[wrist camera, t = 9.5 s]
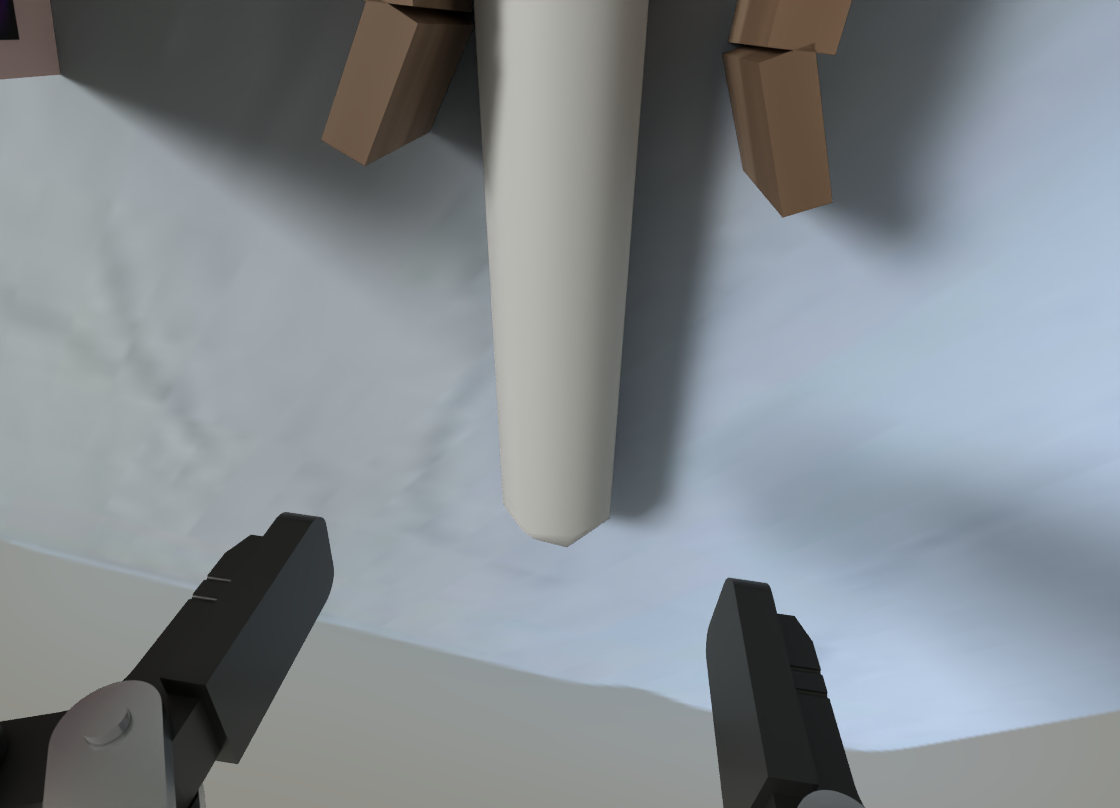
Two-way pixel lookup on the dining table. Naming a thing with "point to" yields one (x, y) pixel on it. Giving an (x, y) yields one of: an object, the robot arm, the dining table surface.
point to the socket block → (751, 70)
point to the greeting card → (27, 39)
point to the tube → (559, 244)
